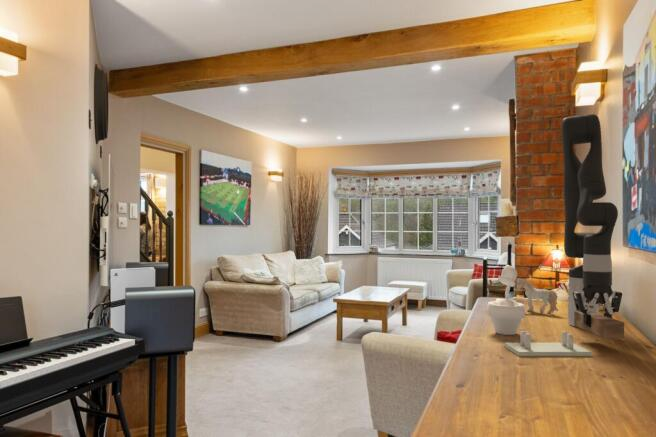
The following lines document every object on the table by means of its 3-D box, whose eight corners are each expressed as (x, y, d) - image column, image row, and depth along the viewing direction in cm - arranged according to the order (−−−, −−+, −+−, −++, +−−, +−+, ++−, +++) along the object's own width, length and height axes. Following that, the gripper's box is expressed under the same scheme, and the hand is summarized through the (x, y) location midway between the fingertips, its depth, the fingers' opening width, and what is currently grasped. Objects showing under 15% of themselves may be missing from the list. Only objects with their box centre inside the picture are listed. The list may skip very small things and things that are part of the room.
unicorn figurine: (513, 308, 202) (513, 277, 202) (562, 313, 190) (562, 280, 190) (507, 310, 196) (507, 278, 197) (558, 316, 184) (557, 282, 185)
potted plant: (496, 327, 163) (496, 255, 163) (530, 333, 154) (530, 257, 155) (479, 333, 154) (479, 257, 154) (514, 339, 145) (514, 259, 146)
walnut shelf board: (574, 325, 146) (574, 311, 146) (590, 325, 147) (590, 311, 147) (605, 338, 130) (605, 322, 130) (624, 338, 131) (624, 322, 131)
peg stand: (504, 346, 137) (504, 328, 137) (571, 346, 137) (571, 329, 137) (519, 356, 127) (519, 337, 127) (591, 356, 127) (591, 337, 127)
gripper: (612, 267, 143) (613, 323, 143) (566, 268, 142) (566, 323, 142) (629, 270, 135) (629, 329, 135) (580, 270, 135) (580, 329, 135)
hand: (597, 326), depth 139 cm, fingers closed on walnut shelf board, 5 cm apart
